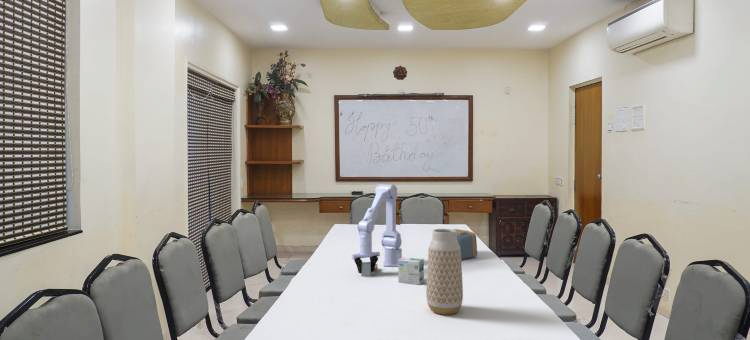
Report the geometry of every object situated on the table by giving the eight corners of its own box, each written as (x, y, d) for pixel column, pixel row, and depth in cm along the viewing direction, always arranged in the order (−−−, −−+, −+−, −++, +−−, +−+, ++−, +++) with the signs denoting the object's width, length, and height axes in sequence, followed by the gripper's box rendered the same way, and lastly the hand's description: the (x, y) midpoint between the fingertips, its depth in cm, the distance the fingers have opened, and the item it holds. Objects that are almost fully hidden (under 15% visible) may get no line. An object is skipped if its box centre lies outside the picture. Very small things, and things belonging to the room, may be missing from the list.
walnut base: (377, 269, 237) (377, 263, 237) (376, 273, 229) (376, 267, 229) (362, 269, 238) (362, 263, 238) (360, 273, 230) (360, 267, 230)
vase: (438, 319, 166) (438, 235, 164) (419, 307, 178) (419, 229, 177) (470, 313, 171) (470, 232, 170) (449, 302, 184) (450, 226, 182)
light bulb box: (424, 281, 214) (424, 258, 214) (419, 285, 208) (419, 261, 208) (403, 278, 219) (403, 256, 218) (397, 282, 213) (397, 259, 212)
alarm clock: (478, 257, 261) (478, 230, 261) (458, 261, 252) (458, 233, 252) (458, 252, 275) (458, 226, 274) (438, 256, 266) (438, 229, 265)
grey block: (370, 273, 228) (370, 261, 228) (370, 276, 223) (370, 264, 223) (361, 273, 228) (361, 261, 228) (361, 276, 224) (361, 264, 223)
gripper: (375, 242, 232) (375, 268, 232) (349, 244, 225) (349, 272, 226) (381, 244, 226) (382, 271, 226) (355, 247, 219) (355, 275, 220)
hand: (366, 272), depth 226 cm, fingers closed on grey block, 6 cm apart
